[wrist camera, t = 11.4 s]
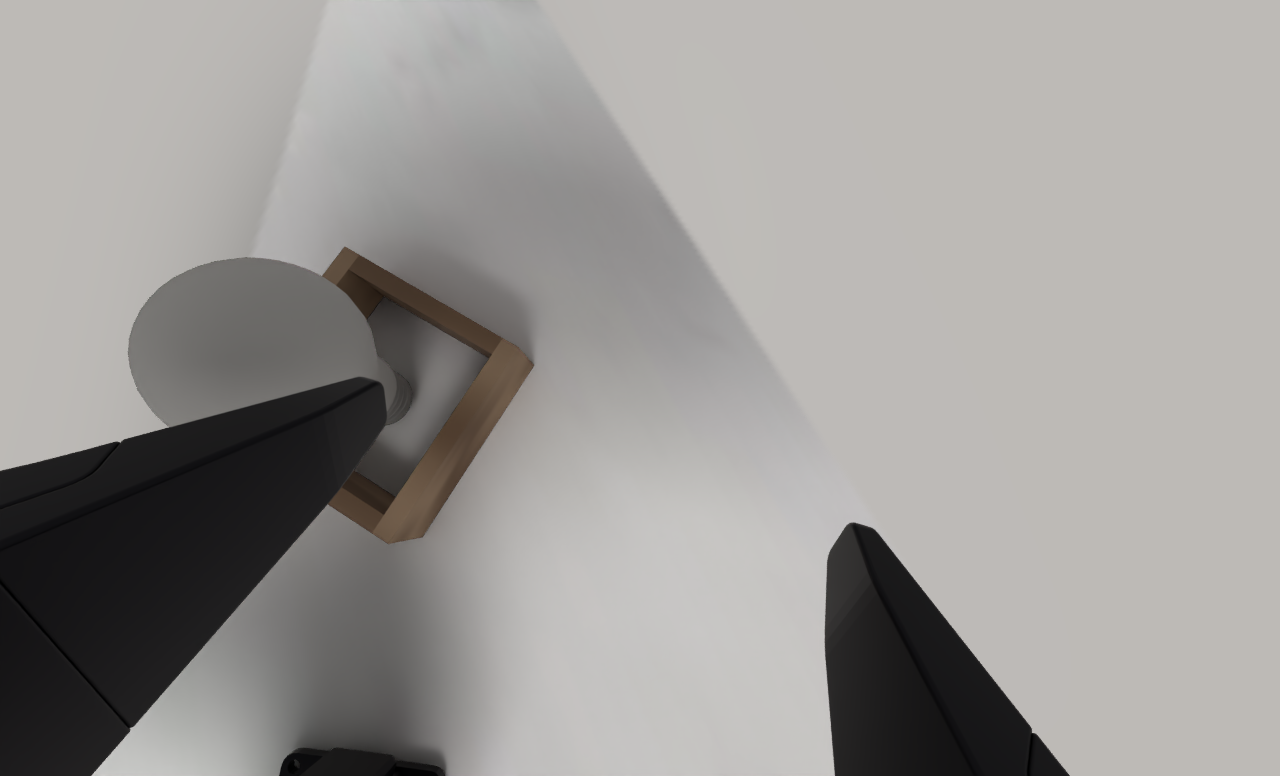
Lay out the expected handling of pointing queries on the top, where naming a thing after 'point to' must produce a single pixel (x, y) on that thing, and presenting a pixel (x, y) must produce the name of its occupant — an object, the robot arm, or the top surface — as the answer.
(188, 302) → the lightbulb
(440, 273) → the top surface
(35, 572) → the robot arm
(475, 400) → the frame
